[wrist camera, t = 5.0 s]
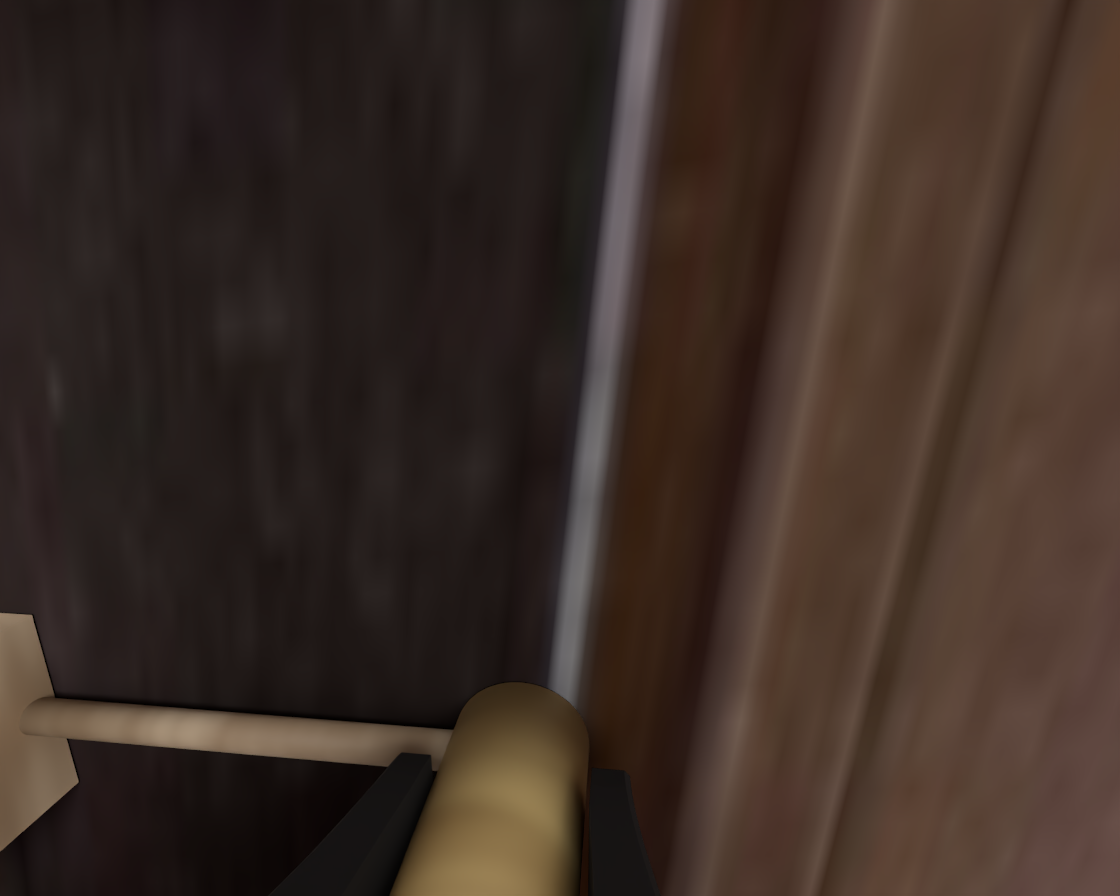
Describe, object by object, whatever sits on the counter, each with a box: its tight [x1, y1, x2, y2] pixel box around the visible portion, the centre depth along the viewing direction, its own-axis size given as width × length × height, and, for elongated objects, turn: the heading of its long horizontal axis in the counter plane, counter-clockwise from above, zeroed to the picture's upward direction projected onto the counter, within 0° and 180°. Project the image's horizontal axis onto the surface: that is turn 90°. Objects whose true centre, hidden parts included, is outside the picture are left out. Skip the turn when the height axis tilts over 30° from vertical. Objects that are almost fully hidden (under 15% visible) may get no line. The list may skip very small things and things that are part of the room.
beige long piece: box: [0, 613, 589, 896], centre depth 10 cm, size 5×18×6 cm, turn 90°
